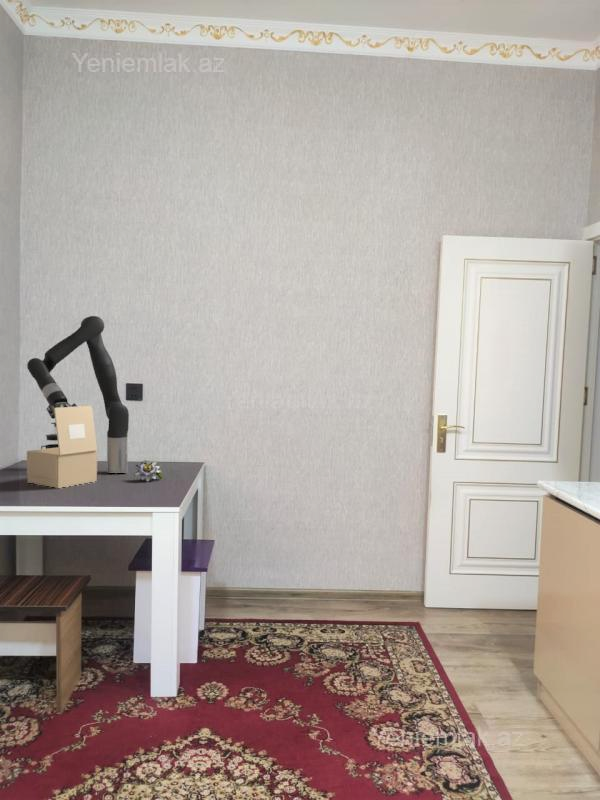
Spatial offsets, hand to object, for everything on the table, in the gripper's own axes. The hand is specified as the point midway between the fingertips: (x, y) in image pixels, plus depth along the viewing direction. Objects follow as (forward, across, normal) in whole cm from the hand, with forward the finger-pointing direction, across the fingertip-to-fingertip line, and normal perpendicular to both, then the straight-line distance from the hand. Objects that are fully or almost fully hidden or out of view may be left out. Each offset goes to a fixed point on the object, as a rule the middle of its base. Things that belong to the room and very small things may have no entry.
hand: (72, 423), depth 277 cm
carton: (+14, 0, +23) cm, 27 cm away
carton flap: (+3, 0, 0) cm, 3 cm away
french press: (-8, +20, +46) cm, 51 cm away
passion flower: (+32, +26, +6) cm, 42 cm away
